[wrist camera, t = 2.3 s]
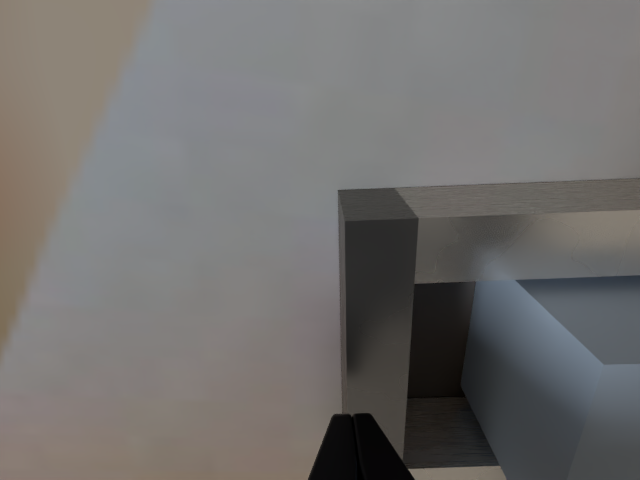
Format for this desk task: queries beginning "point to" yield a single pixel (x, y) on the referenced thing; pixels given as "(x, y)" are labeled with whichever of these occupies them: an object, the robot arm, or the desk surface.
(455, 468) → the white u-shaped frame
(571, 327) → the block
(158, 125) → the desk surface
